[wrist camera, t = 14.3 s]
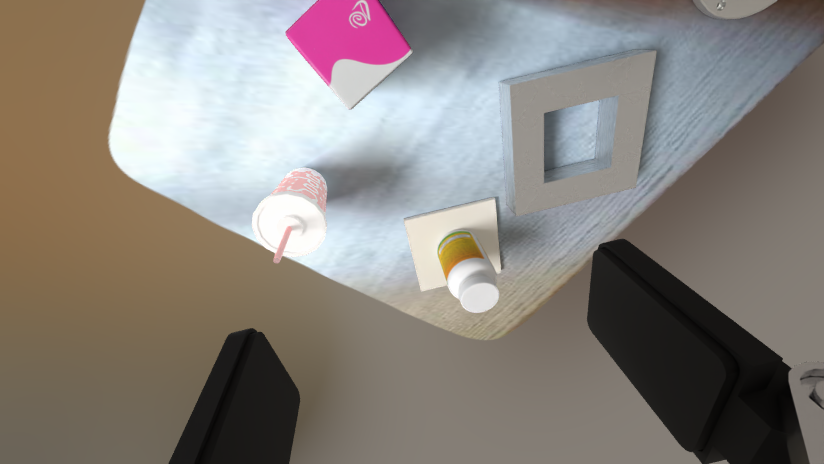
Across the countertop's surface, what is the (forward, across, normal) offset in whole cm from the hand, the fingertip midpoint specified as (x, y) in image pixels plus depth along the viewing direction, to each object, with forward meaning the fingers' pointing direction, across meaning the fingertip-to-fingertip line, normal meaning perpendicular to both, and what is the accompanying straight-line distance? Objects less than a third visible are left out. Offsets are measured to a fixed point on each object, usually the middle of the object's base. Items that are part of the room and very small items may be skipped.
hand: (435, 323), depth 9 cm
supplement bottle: (+28, -5, +17) cm, 33 cm away
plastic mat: (+28, -5, +17) cm, 33 cm away
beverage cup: (+28, +10, +5) cm, 31 cm away
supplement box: (+28, +1, -7) cm, 29 cm away
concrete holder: (+28, -19, +6) cm, 35 cm away
